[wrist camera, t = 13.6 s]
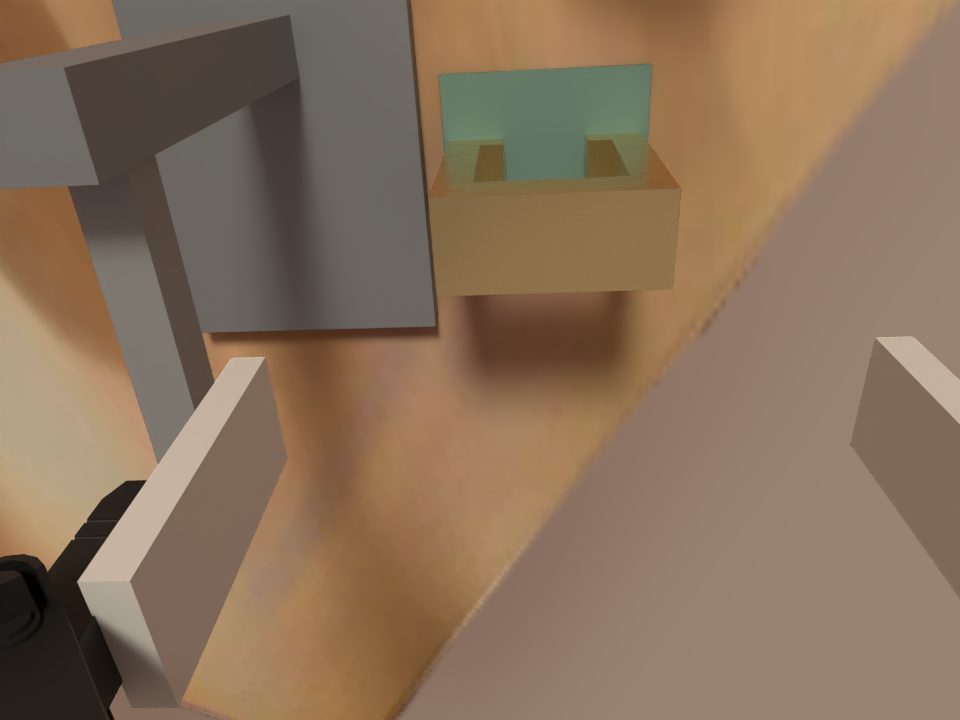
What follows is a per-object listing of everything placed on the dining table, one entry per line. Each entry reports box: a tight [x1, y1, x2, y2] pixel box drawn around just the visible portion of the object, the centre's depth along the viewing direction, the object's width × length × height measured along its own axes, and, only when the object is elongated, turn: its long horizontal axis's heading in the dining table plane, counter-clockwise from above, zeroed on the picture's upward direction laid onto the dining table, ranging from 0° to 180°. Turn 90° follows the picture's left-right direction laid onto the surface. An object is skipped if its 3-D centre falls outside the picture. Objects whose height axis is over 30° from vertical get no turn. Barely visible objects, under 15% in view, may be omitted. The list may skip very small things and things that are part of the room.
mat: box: [439, 64, 652, 181], centre depth 33 cm, size 9×9×1 cm
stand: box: [0, 0, 438, 464], centre depth 26 cm, size 12×16×18 cm
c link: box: [428, 132, 681, 296], centre depth 29 cm, size 8×4×9 cm, turn 93°
